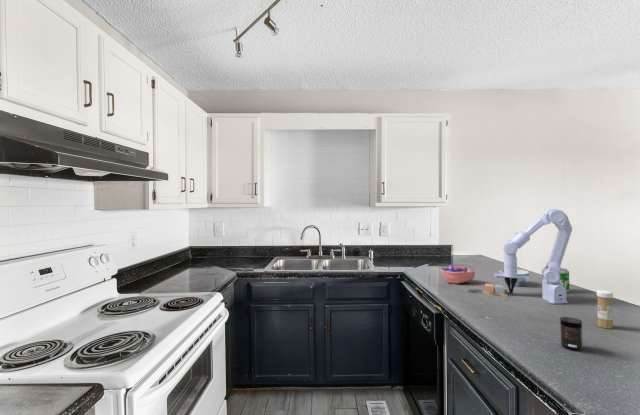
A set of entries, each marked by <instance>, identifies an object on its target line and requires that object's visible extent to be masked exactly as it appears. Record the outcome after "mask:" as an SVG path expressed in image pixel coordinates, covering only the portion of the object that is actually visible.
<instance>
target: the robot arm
mask: <svg viewBox="0 0 640 415" xmlns="http://www.w3.org/2000/svg"><path fill="white" fill-rule="evenodd" d="M551 224H554V225H555V228H557V229H558V232H557V233H556V238H555V241H554V244H553V246H552V247H553V248H552V250H551V252H550V256H549V259H548V262H547V263H546V265H545V267H544V268H543V269H542V271H541V275H542V276H543V279H542V280H541V289H542V290H541V292H542V293H541V295H542V297H541V298H542V299H543V300H545V301H547V302H548V303H550V304H552V305H553V304H557V305H558V304H560V305H561V304H569V302H568V301H567V293H566V288H565V287H564V286H562V285H561V283H560V281H559V280H560V268H562V267H561V265H562V261H563V258H564V256H565V253H566V250H567V246H568V244H569V242H570V239H571V238H570V237H571V235H572V232H573V227H572V225H571V222H570V218H569V217H568V215H567V214H566V213H565V212H564V211H563V210H561V209H554V208H552V209H550V210H548V211H547V212H546V213H544V214H543V215H541V216H540V217H539V218H537V219H536V220H535V221H534V222H533V223H532V224H531V225H530V226H528V227H527V229H525V231H519V232H516V233H515V235H514V236H513V237H512V238H511V239H508V240H507V241H508V242H506V243H505V244H504V245H503V248H502V249H503V251H504V253H503V256H504V257H503V269H504V274H500V273H494V279H497V278H498V279H499V278H500V279H502V278H505V281H504V282H505V284H506V285H507V288H508V291H509V294H514V289H515V287H516V286H515V284H516V282H517V279H520V280H526V281H528V280H529V276H524V275H517V269H518V257H517V253H518V249H521V248H522V247H524V246H525V245H526V244H527V243H528V242H530V240H531V236H532V235H534V234H535V232H537V231H538V230H539V229H541V228H542V227H543V226H546V225H551ZM510 279H511V285H510Z"/></svg>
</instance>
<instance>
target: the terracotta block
mask: <svg viewBox="0 0 640 415" xmlns="http://www.w3.org/2000/svg"><path fill="white" fill-rule="evenodd" d="M494 288H495V284H492V283H485V284H484V291H485V292H495V291H494Z"/></svg>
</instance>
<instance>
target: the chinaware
mask: <svg viewBox="0 0 640 415" xmlns="http://www.w3.org/2000/svg"><path fill="white" fill-rule="evenodd" d="M498 272H499V273H498V274H504V268H501V269H499V270H498ZM517 275H524V276H528V277H529V276H530V271H528V270H523V269H518V268H517ZM501 279H502V280H503V281H504V282H505V278H501ZM526 281H527V280H520V279H517V282H516V284H515V286H514V287H520V286H521V285H522V284H523V283H525V282H526ZM510 285H511V279H510Z"/></svg>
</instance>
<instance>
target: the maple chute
mask: <svg viewBox="0 0 640 415" xmlns="http://www.w3.org/2000/svg"><path fill="white" fill-rule="evenodd" d="M467 293H470V294H480V295H484V296H492V297H503V298H508V296H509V294H508V289H507V288H504V293H495V287H494V292H485V290H483V289H473V288H468V290H467Z"/></svg>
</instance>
